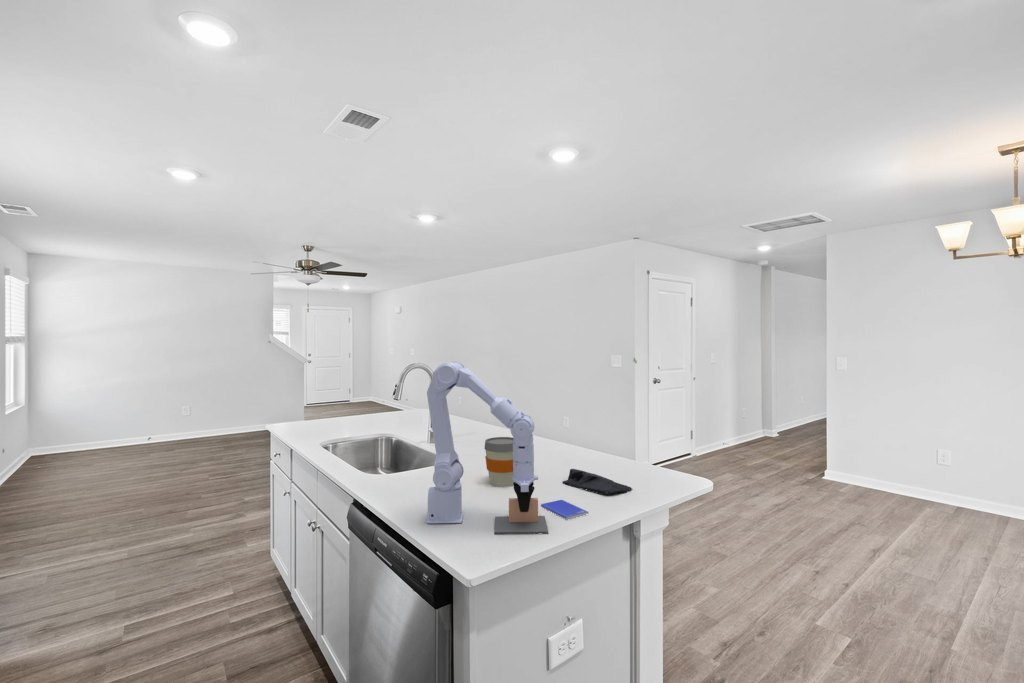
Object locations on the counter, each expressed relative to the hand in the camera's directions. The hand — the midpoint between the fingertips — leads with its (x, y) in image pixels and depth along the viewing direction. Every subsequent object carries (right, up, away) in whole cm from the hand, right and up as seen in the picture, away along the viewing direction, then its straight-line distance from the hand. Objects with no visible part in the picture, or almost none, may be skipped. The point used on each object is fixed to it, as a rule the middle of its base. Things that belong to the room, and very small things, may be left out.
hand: (523, 510), depth 130 cm
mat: (-1, -4, -2) cm, 4 cm away
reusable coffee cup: (-7, -4, +37) cm, 38 cm away
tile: (0, -3, 0) cm, 3 cm away
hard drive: (+12, -4, +9) cm, 16 cm away
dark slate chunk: (+26, -4, +32) cm, 42 cm away
